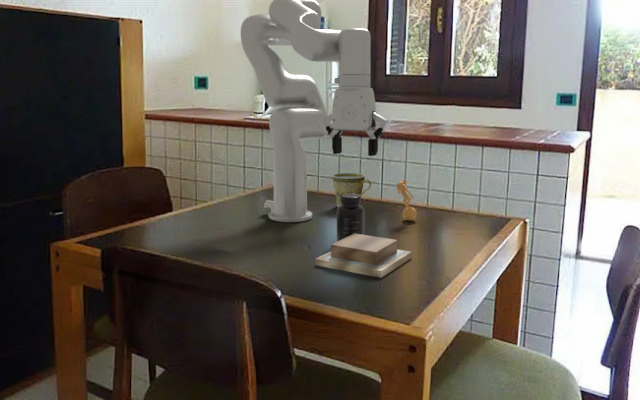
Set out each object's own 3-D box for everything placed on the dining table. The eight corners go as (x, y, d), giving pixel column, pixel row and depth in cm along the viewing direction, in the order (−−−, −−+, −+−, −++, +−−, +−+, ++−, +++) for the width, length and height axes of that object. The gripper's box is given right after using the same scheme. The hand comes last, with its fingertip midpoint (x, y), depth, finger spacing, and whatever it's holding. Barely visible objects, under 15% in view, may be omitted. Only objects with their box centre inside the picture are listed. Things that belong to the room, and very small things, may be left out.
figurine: (422, 223, 175) (424, 181, 173) (403, 225, 173) (405, 182, 171) (408, 216, 183) (409, 176, 180) (389, 218, 181) (391, 177, 178)
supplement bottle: (335, 239, 159) (335, 192, 157) (361, 238, 160) (362, 192, 157) (338, 246, 152) (338, 198, 150) (365, 246, 153) (366, 198, 150)
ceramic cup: (325, 207, 194) (325, 175, 192) (343, 202, 202) (343, 171, 200) (361, 213, 187) (362, 180, 185) (378, 207, 195) (379, 175, 193)
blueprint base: (315, 265, 138) (315, 245, 137) (349, 247, 152) (349, 229, 151) (381, 277, 130) (381, 257, 129) (411, 258, 144) (412, 239, 143)
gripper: (315, 83, 150) (316, 154, 153) (380, 82, 141) (379, 158, 144) (331, 82, 157) (332, 151, 160) (394, 82, 147) (393, 154, 151)
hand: (354, 154), depth 152 cm, fingers open, 9 cm apart
